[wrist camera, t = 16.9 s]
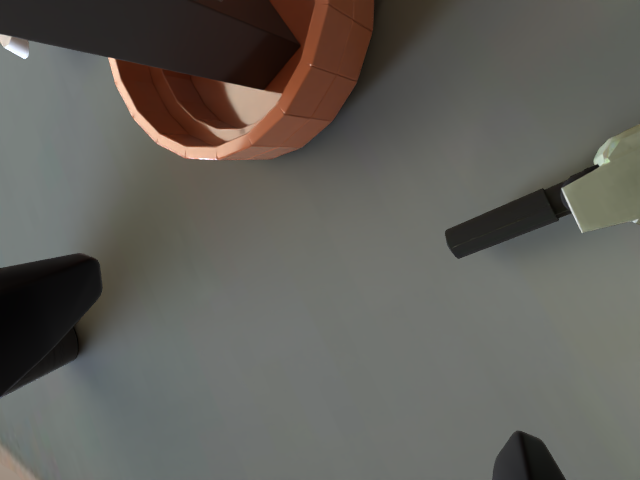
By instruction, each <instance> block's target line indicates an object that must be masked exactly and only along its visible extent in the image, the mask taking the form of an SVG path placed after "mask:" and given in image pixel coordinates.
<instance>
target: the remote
mask: <svg viewBox="0 0 640 480" xmlns="http://www.w3.org/2000/svg"><path fill="white" fill-rule="evenodd" d="M0 34H1V35H6V36H11V37H15V38H20V39H25V40H29V41H34V42H39V43H43V44H48V45H53V46H58V47H62V48H67V49H72V50H76V51H81V52H86V53H90V54H95V55H100V56H104V57H109V58H114V59H119V60H123V61H128V62H133V63H137V64H142V65H147V66H151V67H156V68H161V69H165V70H170V71H175V72H179V73H184V74H189V75H194V76H198V77H203V78H208V79H212V80H217V81H222V82H226V83H231V84H236V85H240V86H245V87H250V88H254V89H259V90H265V88H266V87H267V86H268V85H269V84H270V82H271V81H272V80H273V79H274V78H275V76H276V75H277V74H278V73H279V72H280V70H281V69H282V68H283V67H284V65H285V64H286V63H287V62H288V61H289V59H290V58H291V57H292V56H293V55H294V53H295V52H296V51H297V50H298V49H299V47H300V46H301V45H300V43H299V42H298V41H297V39H296V38H295V36H294V35H293V33H292V32H291V31H290V29H289V28H288V26H287V25H286V23H285V22H284V21H283V19H282V18H281V16H280V15H279V14H278V12H277V11H276V9H275V8H274V6H273V5H272V4H271V2H270V1H269V0H0Z"/></svg>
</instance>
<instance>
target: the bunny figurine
mask: <svg viewBox="0 0 640 480" xmlns="http://www.w3.org/2000/svg"><path fill="white" fill-rule="evenodd" d="M0 42H1V44H2V45H3V47H4V48H6V49H8V50H10V51H11V52H13V53H15V54H17V55H18V56H20V57H22V58H24V59H26V58H27V57H28V53H29V42H28V40H25V39H20V38H15V37H11V36H6V35H1V34H0Z"/></svg>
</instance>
